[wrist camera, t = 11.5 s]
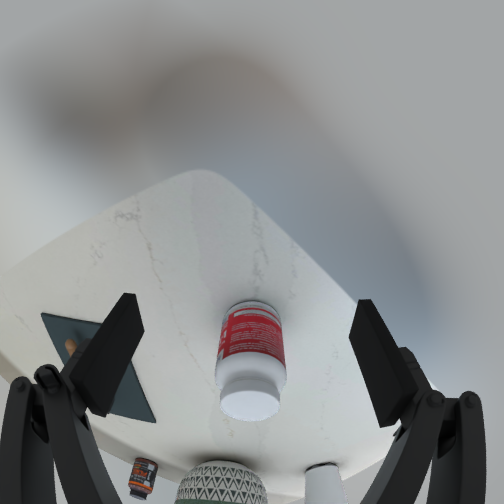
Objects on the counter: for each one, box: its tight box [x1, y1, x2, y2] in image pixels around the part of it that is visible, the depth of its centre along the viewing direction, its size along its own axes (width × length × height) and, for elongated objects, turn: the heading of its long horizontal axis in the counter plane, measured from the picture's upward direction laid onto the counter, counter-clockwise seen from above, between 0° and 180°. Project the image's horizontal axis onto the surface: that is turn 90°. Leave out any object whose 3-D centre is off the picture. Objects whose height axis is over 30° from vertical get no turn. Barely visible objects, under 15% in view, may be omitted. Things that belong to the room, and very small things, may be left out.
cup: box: [305, 463, 348, 504], centre depth 41 cm, size 10×10×13 cm
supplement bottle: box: [128, 458, 158, 500], centre depth 43 cm, size 6×6×11 cm
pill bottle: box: [215, 301, 287, 421], centre depth 24 cm, size 6×6×11 cm
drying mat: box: [41, 313, 156, 423], centre depth 34 cm, size 22×14×1 cm, turn 179°
